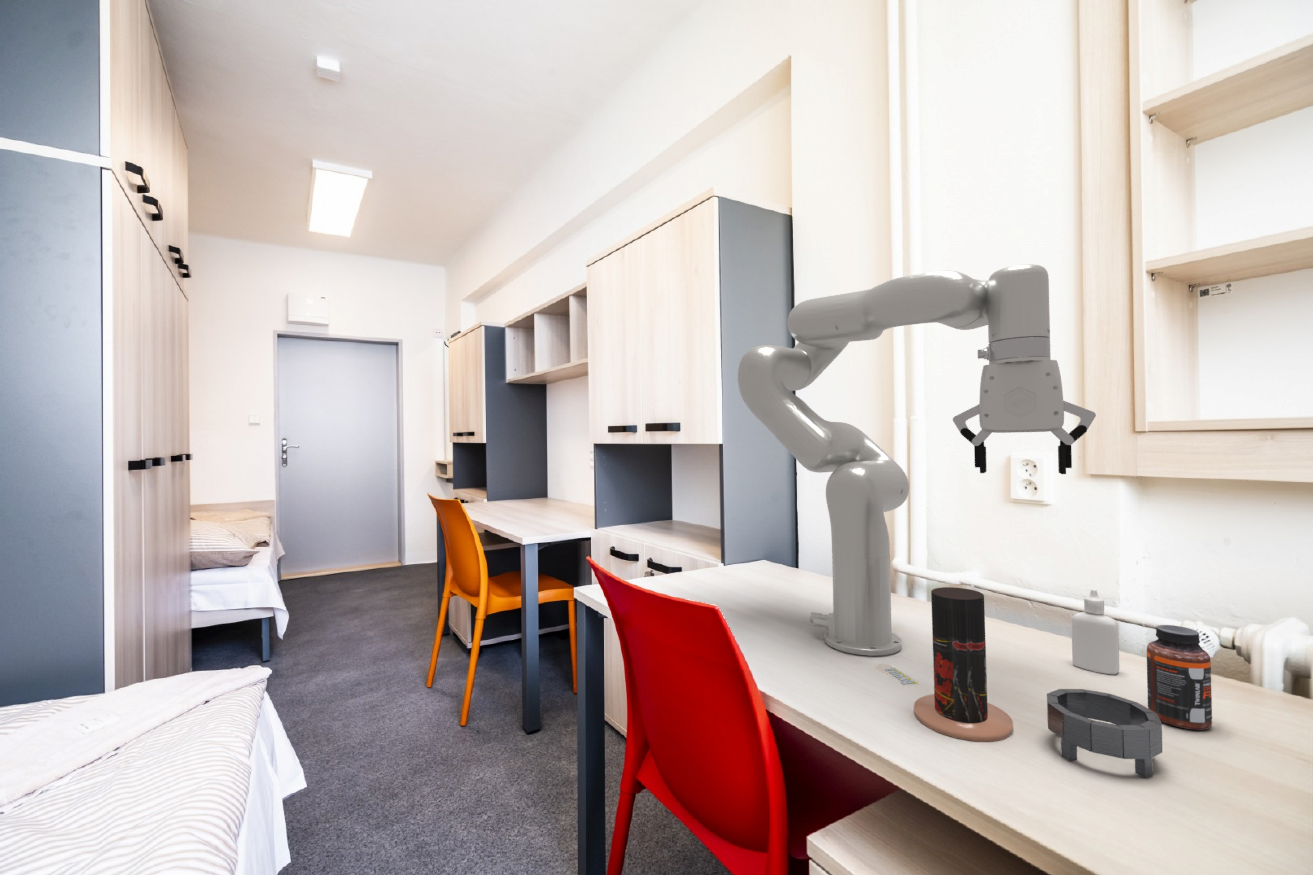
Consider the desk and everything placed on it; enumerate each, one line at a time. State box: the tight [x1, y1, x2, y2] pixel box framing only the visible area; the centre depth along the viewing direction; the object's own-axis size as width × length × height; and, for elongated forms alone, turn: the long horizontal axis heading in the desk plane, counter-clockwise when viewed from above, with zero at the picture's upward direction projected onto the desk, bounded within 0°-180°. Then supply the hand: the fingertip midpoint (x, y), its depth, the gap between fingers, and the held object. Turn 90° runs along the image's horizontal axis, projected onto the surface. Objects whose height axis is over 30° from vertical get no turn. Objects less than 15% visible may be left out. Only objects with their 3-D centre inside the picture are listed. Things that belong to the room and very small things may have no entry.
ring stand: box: [1046, 688, 1163, 779], centre depth 65 cm, size 10×10×5 cm
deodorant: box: [930, 586, 988, 723], centre depth 73 cm, size 6×6×15 cm
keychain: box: [874, 663, 923, 687], centre depth 86 cm, size 10×1×3 cm
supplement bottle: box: [1146, 624, 1213, 731], centre depth 72 cm, size 6×6×11 cm
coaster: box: [913, 693, 1014, 743], centre depth 73 cm, size 11×11×1 cm
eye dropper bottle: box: [1071, 588, 1120, 675], centre depth 89 cm, size 4×6×12 cm
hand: (1021, 473), depth 83 cm, fingers open, 9 cm apart
